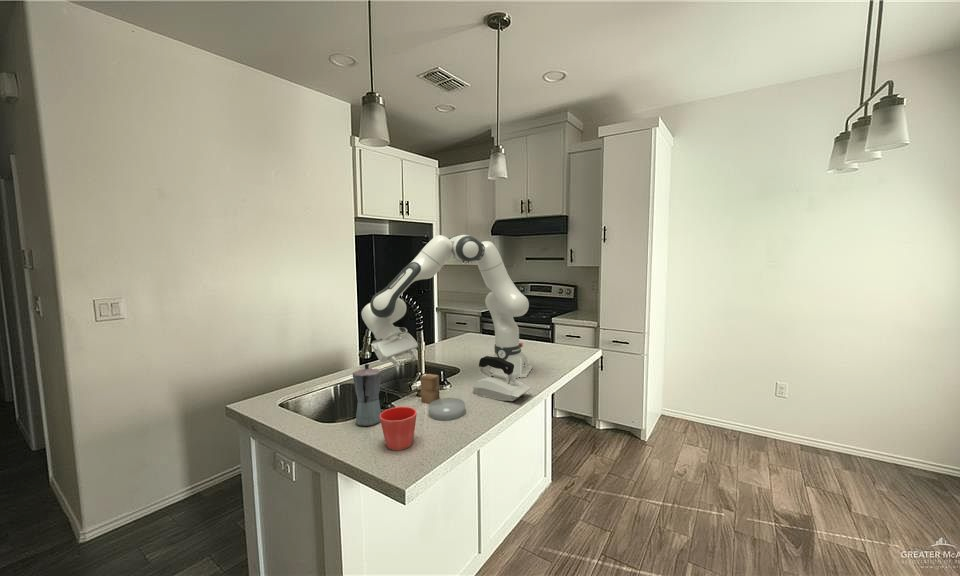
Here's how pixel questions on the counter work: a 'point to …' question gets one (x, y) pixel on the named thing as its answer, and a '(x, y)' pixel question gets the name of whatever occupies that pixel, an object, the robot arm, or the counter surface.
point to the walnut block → (429, 388)
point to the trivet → (446, 409)
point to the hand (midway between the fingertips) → (407, 362)
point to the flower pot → (398, 427)
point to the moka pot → (367, 395)
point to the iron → (499, 381)
